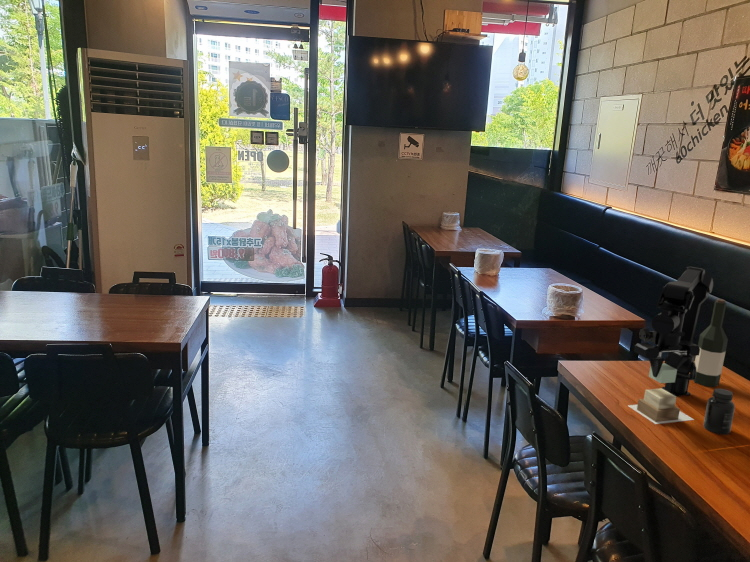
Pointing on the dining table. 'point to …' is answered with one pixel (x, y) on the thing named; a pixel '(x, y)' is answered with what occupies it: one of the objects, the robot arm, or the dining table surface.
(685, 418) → the grey mat
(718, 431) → the supplement bottle
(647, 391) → the birch block
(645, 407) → the walnut slab
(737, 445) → the dining table surface
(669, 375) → the sage block
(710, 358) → the wine bottle
